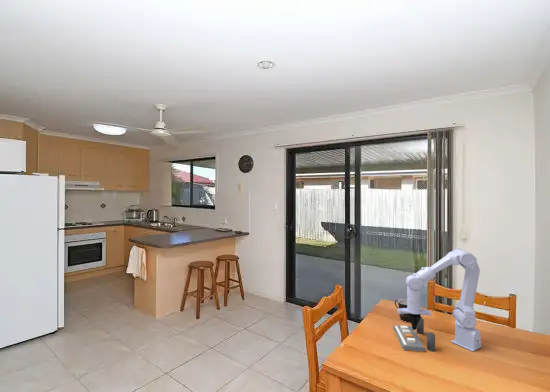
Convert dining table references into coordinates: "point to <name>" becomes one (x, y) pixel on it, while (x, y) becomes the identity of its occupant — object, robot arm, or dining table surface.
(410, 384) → the dining table surface
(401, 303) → the coffee mug
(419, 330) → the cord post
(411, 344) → the breaker panel
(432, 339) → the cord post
